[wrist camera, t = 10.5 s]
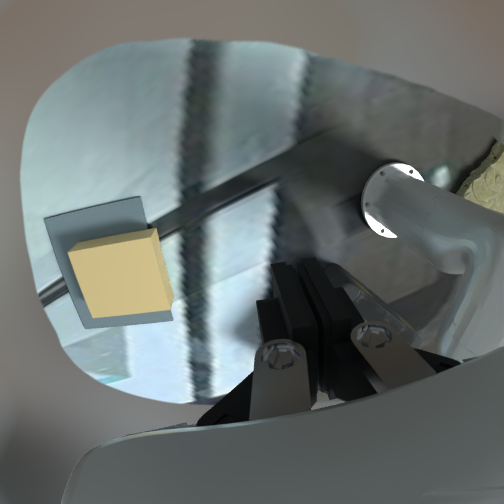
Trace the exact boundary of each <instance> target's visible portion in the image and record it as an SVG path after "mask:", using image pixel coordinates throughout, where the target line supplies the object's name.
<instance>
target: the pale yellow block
mask: <svg viewBox="0 0 504 504" xmlns="http://www.w3.org/2000/svg"><path fill="white" fill-rule="evenodd" d="M68 255H69V258H70V261H71V264H72V267H73V269H74V272H75V275H76V278H77V280H78V283H79V286H80V288H81V291H82V293H83V296H84V298H85V301H86V303H87V306H88V308H89V311H90V313H91V315H92V318H100V317H110V316H120V315H129V314H139V313H147V312H156V311H164V310H171V307H172V302H173V298H174V294H173V291H172V287H171V284H170V280H169V276H168V273H167V269H166V265H165V261H164V257H163V253H162V249H161V245H160V241H159V237H158V233H157V229H156V228H152V229H146V230H141V231H135V232H130V233H124V234H119V235H114V236H108V237H103V238H98V239H93V240H88V241H83V242H78V243H77V244H76V245H75V246H74V247H73V248H72V249H71V250H70V251H69V252H68Z"/></svg>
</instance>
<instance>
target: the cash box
mask: <svg viewBox="0 0 504 504" xmlns="http://www.w3.org/2000/svg"><path fill="white" fill-rule="evenodd" d="M324 272H325V274H326V276H327V277H328V279H329V280H330V282H331V284H332V285H333V287H334V288H335V287H340V286H341V287H343V288H344V290H345V291H346V293H347V294H348V296H349V297H350V299H351V300H352V302H353V304H354V305H355V307H356V308H357V310H358V311H359V313H360V314H361V316H362V318H363V319H364V321H365V322H368V321H378V322H383V323H385V324H388V325H390V326H391V327H392V328H394V329H395V330H396V331H397V332H398V333H399V334H400V335H401V336H402V337H403V338H404V339H405V340H406V341H407V342H408V344H409V345H410V346H411V347H412V348H416V349H419V347H420V346H421V344H422V342H421V338H420V337H419V336H418V334H417V333H416V332H415V330H414V329H413V328H412V327H411V325H410V324H409V323H408V322H407V320H405V319H404V318H403V317H402V316H401V315H400V314H398V313H397V312H396V311H395V310H394V309H392V308H391V307H390V306H389V305H388V304H386V303H385V302H384V301H383V300H382V299H380V298H379V297H378V296H377V295H375V294H374V293H373V292H372V291H371V290H369V289H368V288H367V287H366V286H364V285H363V284H362V283H361V282H360V281H358V280H357V279H356V278H355V277H353V276H352V275H351V274H350V273H348V272H347V271H346V270H345V269H343V268H342V267H341V266H339V265H334V264H332V265H330V266H329V267H327V268H326V269H325V270H324ZM318 390H319V391H321V390H320V387H319V384H318ZM324 393H326V394H327V392H324ZM338 399H339V398H338ZM340 400H341V399H340ZM343 401H344V400H343Z"/></svg>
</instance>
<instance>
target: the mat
mask: <svg viewBox="0 0 504 504" xmlns="http://www.w3.org/2000/svg"><path fill="white" fill-rule="evenodd" d="M44 220H45V223H46V227H47V230H48V233H49V236H50V240H51V243H52V246H53V249H54V252H55V255H56V258H57V260H58V263H59V266H60V269H61V271H62V274H63V277H64V279H65V282H66V285H67V287H68V290H69V292H70V295H71V297H72V299H73V302H74V304H75V307H76V309H77V311H78V314H79V316H80V318H81V320H82V323H83V325H84V327H85V329H93V328H105V327H116V326H127V325H137V324H147V323H156V322H165V321H173V317H172V313H171V310H164V311H156V312H147V313H139V314H129V315H120V316H110V317H100V318H92V315H91V313H90V311H89V308H88V306H87V303H86V301H85V298H84V296H83V293H82V291H81V288H80V286H79V283H78V280H77V278H76V275H75V272H74V269H73V267H72V264H71V261H70V258H69V255H68V252H69V251H70V250H71V249H72V248H73V247H74V246H75V245H76V244H77V243H78V242H83V241H88V240H93V239H98V238H103V237H108V236H114V235H119V234H124V233H130V232H135V231H141V230H146V229H148V226H147V222H146V218H145V214H144V209H143V205H142V200H141V197H136V198H131V199H126V200H122V201H117V202H112V203H108V204H103V205H99V206H95V207H90V208H86V209H82V210H78V211H74V212H70V213H66V214H62V215H58V216H54V217H50V218H46V219H44Z"/></svg>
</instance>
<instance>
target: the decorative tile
mask: <svg viewBox="0 0 504 504" xmlns="http://www.w3.org/2000/svg"><path fill="white" fill-rule="evenodd" d="M456 195H458V196H460V197H463V198H465V199H467V200H470V201H472V202H474V203H477V204H479V205H481V206H484V207H486V208H489V209H492V210H495V211H498V212H501V213H504V145H503V144H502V143H501V142H500V141H497V142H496V143H495V144H494V145H493V147H492V149H491V152H490V154H489V156H488V157H487V158H486V159H485V160H484V161H483V162H481V164H480V166H479V167H478V168H477V169H475V170H473V171H472V172H471V173H470V176H468V177H467V178H466V180H465V181H464V182H463V184H462V185H461V187H460V189H459V190H458V191H457V193H456Z"/></svg>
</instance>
